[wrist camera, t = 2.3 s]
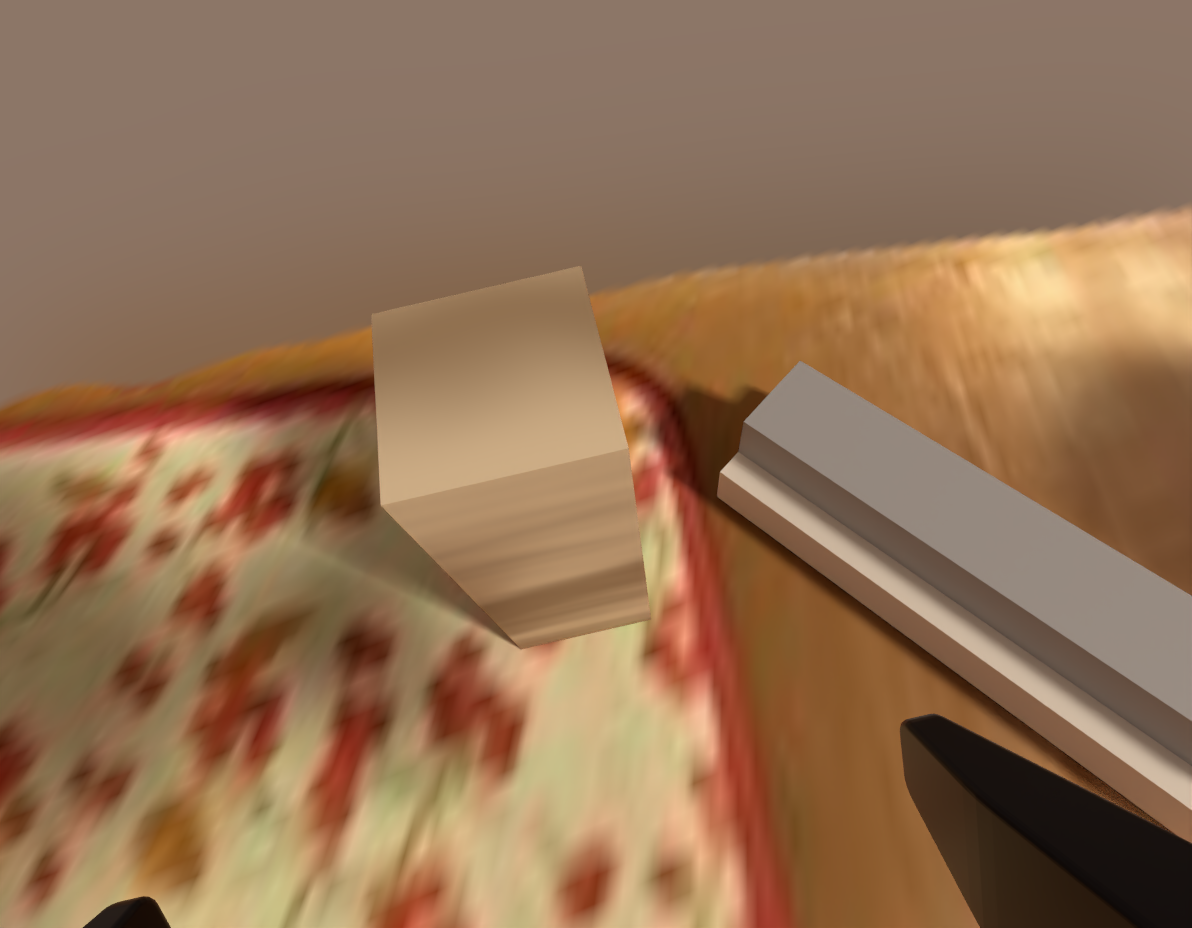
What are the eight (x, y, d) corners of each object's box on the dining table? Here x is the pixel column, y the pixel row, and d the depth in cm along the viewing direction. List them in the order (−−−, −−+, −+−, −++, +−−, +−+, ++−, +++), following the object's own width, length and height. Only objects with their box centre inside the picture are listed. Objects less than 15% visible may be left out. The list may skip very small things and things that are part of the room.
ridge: (1262, 699, 19) (1393, 675, 16) (1187, 843, 18) (1314, 853, 14) (798, 406, 25) (818, 341, 22) (716, 496, 24) (723, 442, 20)
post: (651, 619, 22) (628, 448, 12) (521, 649, 22) (380, 505, 12) (622, 501, 24) (580, 265, 14) (503, 528, 24) (371, 314, 14)
